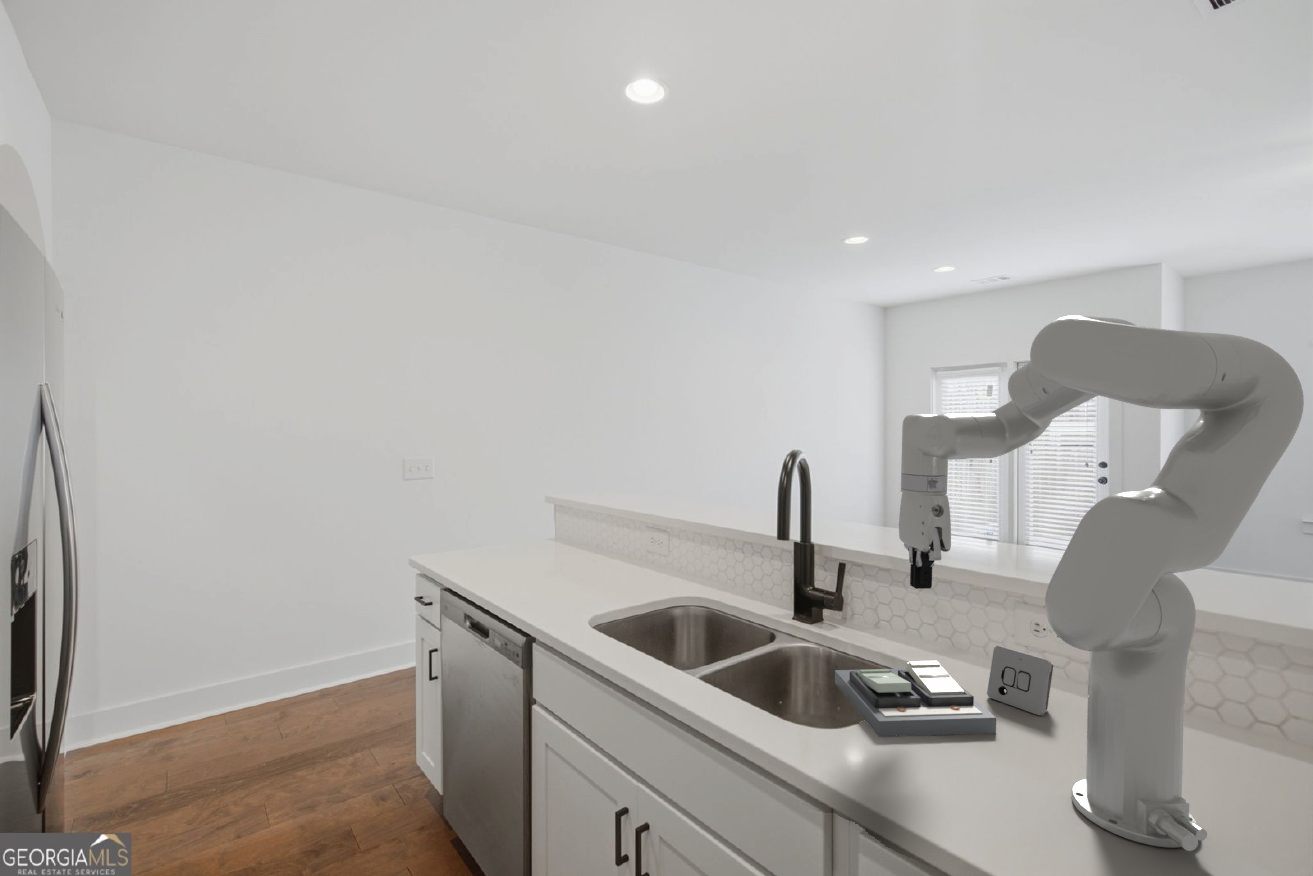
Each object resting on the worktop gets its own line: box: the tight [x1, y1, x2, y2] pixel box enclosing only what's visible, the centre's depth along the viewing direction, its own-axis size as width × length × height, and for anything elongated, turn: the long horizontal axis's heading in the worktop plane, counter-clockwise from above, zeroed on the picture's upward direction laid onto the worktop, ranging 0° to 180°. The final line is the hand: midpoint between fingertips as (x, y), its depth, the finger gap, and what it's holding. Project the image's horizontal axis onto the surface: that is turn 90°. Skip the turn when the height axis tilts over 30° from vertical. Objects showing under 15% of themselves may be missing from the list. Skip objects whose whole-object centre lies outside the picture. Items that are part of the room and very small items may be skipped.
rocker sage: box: [858, 668, 912, 692], centre depth 108 cm, size 9×6×2 cm, turn 4°
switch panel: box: [834, 668, 997, 738], centre depth 108 cm, size 20×19×4 cm
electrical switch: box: [986, 645, 1054, 717], centre depth 110 cm, size 9×5×9 cm, turn 35°
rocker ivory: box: [906, 660, 964, 695], centre depth 109 cm, size 9×6×2 cm, turn 4°
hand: (920, 587), depth 111 cm, fingers closed
